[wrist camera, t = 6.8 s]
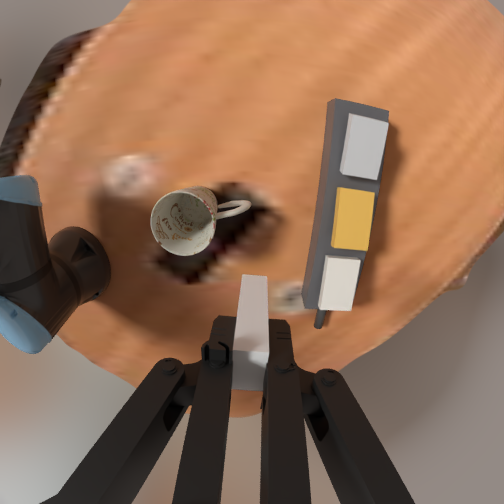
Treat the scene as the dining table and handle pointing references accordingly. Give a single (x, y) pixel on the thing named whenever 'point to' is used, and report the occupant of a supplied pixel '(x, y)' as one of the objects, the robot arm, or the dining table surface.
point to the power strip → (327, 198)
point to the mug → (189, 219)
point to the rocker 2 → (352, 219)
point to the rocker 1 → (363, 146)
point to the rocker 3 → (338, 283)
